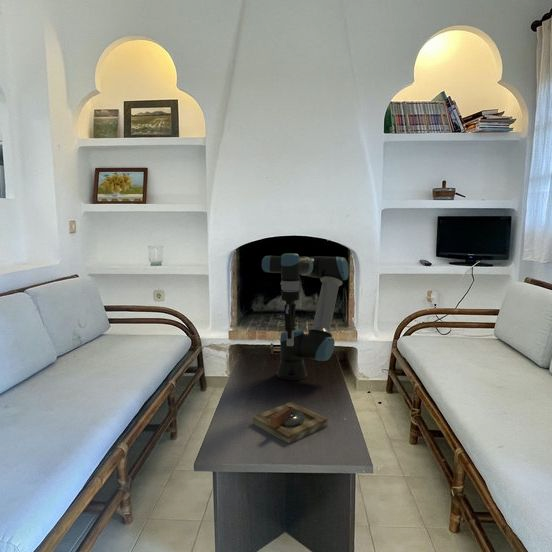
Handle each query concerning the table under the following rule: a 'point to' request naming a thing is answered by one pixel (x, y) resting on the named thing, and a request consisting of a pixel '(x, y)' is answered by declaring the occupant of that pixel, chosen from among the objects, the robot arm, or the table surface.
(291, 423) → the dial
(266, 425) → the panel
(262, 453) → the table surface
